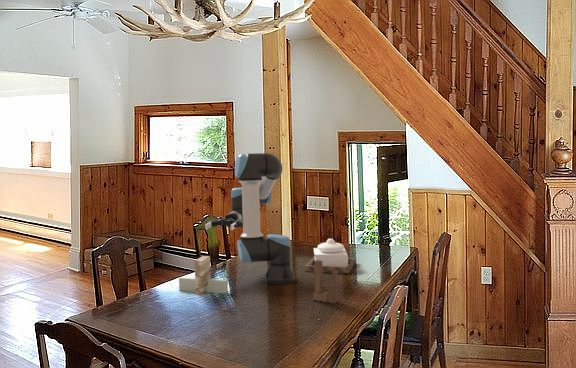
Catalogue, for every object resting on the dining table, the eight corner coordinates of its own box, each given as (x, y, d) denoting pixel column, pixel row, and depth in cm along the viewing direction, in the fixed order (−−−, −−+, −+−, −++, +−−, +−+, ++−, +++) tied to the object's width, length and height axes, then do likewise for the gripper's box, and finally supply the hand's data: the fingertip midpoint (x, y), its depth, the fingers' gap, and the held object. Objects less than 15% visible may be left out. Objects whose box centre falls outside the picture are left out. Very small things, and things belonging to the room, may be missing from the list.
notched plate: (210, 288, 284) (209, 256, 282) (202, 294, 274) (201, 260, 272) (204, 288, 285) (203, 255, 283) (195, 293, 275) (194, 260, 273)
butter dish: (348, 270, 315) (348, 241, 313) (314, 271, 315) (314, 241, 314) (345, 263, 332) (345, 235, 331) (313, 263, 333) (313, 235, 331)
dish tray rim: (355, 263, 332) (355, 258, 332) (348, 273, 309) (348, 268, 309) (314, 261, 338) (314, 256, 338) (304, 271, 315) (304, 265, 315)
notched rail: (227, 292, 277) (227, 279, 276) (226, 293, 275) (225, 280, 275) (181, 289, 283) (180, 277, 283) (179, 290, 281) (179, 278, 281)
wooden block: (334, 304, 256) (334, 263, 255) (312, 300, 262) (312, 261, 260) (338, 301, 260) (338, 262, 258) (316, 298, 265) (316, 259, 263)
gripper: (254, 226, 313) (242, 235, 293) (211, 225, 319) (195, 234, 299) (254, 212, 312) (241, 220, 292) (210, 212, 318) (195, 219, 298)
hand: (218, 227), depth 295 cm, fingers open, 13 cm apart
